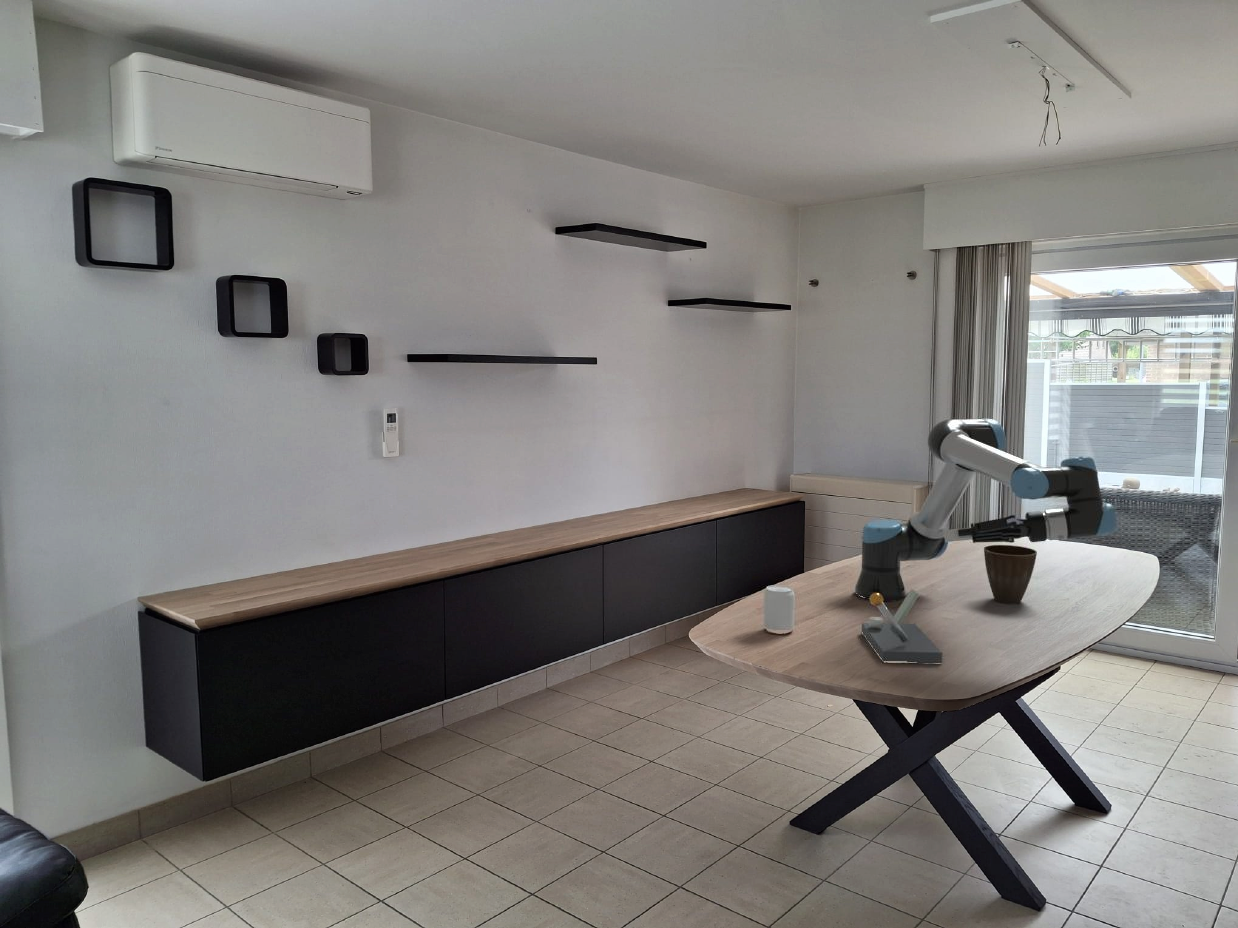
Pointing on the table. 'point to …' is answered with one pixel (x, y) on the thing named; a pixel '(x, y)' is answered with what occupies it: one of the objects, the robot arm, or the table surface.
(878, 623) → the white push button
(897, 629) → the steel toggle lever
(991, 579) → the plant pot
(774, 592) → the beverage can
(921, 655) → the switch panel
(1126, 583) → the table surface
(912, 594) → the sage paddle
